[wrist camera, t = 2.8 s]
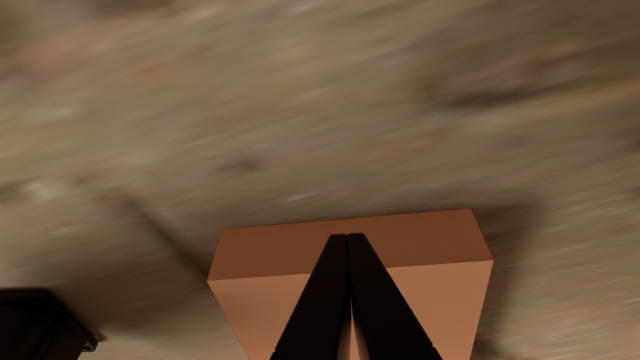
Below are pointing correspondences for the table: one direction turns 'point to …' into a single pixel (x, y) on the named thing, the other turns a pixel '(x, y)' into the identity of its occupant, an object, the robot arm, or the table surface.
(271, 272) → the block
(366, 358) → the robot arm
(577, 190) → the table surface
